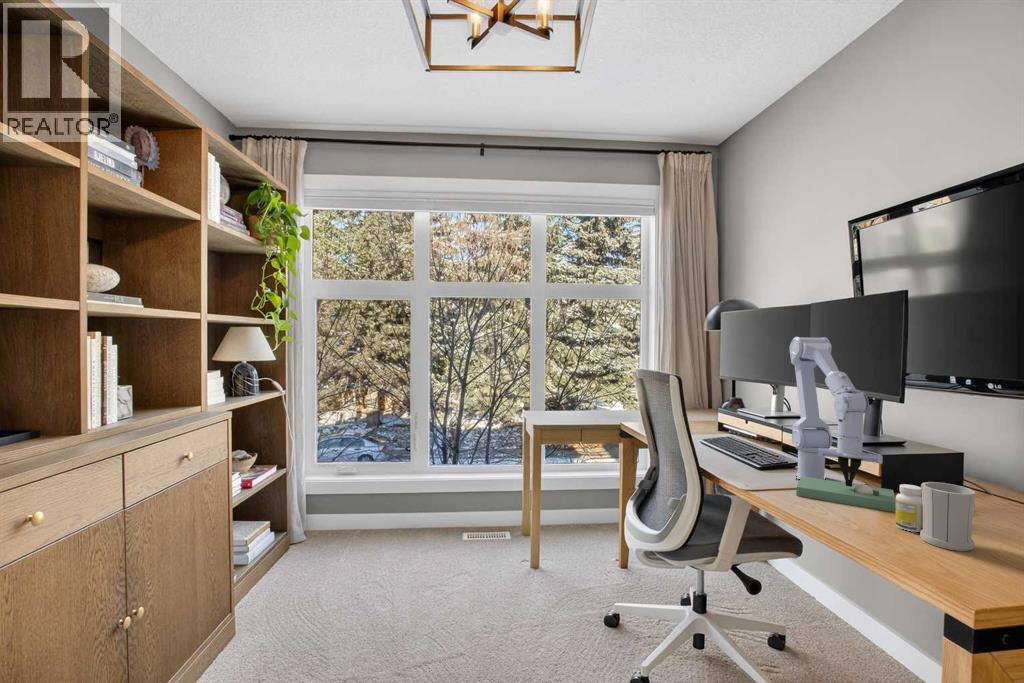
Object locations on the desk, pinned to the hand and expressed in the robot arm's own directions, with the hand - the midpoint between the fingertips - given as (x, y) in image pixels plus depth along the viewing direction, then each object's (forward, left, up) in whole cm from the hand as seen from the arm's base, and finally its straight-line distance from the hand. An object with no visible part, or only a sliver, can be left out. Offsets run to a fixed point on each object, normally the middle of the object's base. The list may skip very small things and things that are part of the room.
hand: (848, 485), depth 139 cm
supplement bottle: (+18, +12, -4) cm, 22 cm away
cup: (+24, +18, -4) cm, 30 cm away
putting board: (0, -1, -3) cm, 4 cm away
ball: (0, +3, -1) cm, 4 cm away
